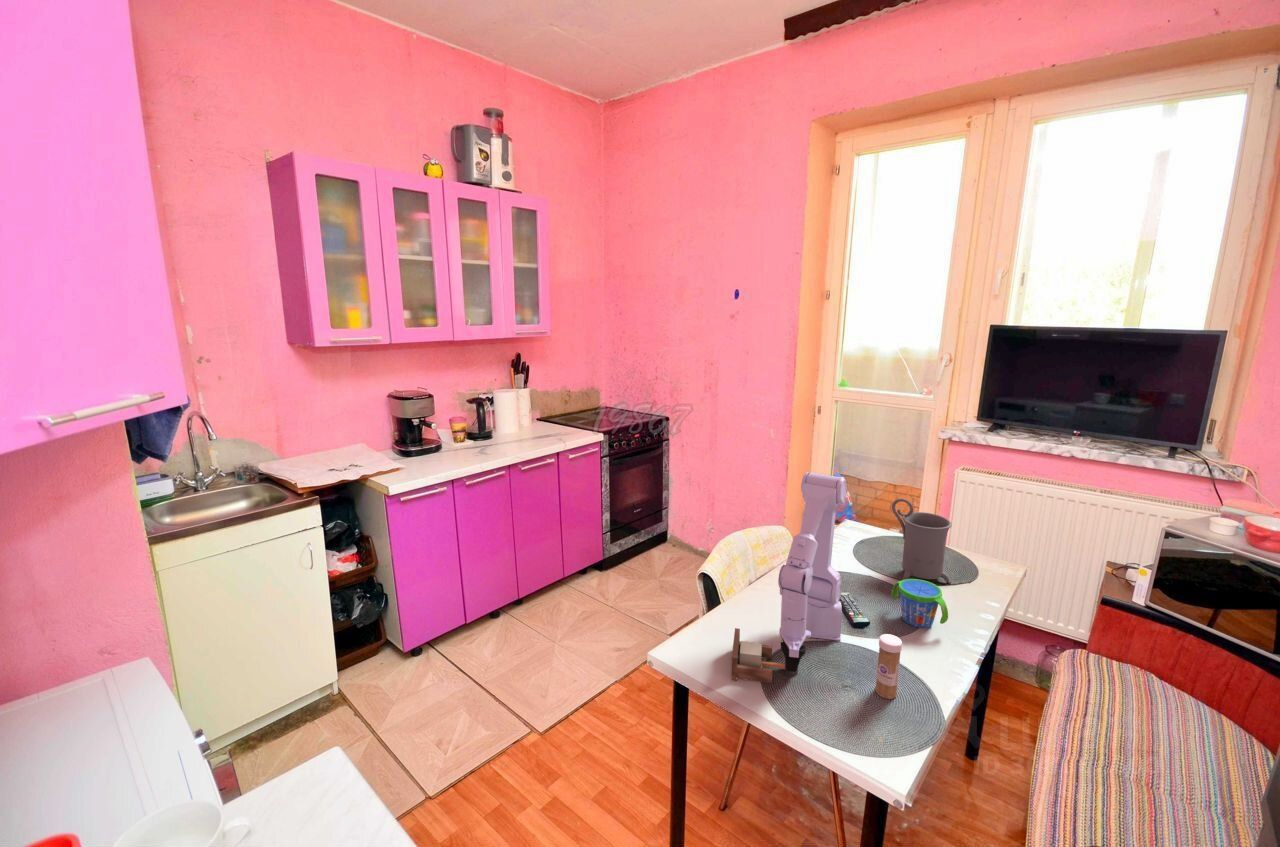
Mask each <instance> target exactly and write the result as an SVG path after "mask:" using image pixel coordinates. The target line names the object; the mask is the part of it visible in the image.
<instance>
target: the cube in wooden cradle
mask: <svg viewBox="0 0 1280 847" xmlns="http://www.w3.org/2000/svg"><path fill="white" fill-rule="evenodd" d="M733 633H734V634H733V644H732V645H733V646H732V653H731V654H732V655H731V675H730V676H731V679H730V680H731V681H735V682H736V681H737V680H743V681H749V682H750V681H751V682H758V683H764V682H765V684H772V683H773V668H771V667H769V668H768V667H764V666H761V667H755V666H748V665H740V663H739V661H740V647H741V641H742V640H741V639H740V636H741V629H740V628H736V627H735V628H734V632H733ZM772 657H773V645H772V644H765V643H762V655H761V659H762V658H763V659H770V660H772V659H773V658H772Z"/></svg>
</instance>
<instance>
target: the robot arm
mask: <svg viewBox="0 0 1280 847" xmlns="http://www.w3.org/2000/svg"><path fill="white" fill-rule="evenodd" d="M800 485H801V487H800V490H801V491H800V492H801V494H802V498H803V502H805V504H804V510H803V516H802V519H801V520H802V521H801V525H800V532H799V533H797V534H796V535H794V536H793V538H792V542H791V546H790V549H789V552H788V555H787V559H786V563H785V564H783V565H781V567H780V569H779V573H778V578H777V579H778V580H777V581H778V582H777V584H778V587H779V595H780V596H781V602H780V603H781V607H780V611H781V612H780V627H779V631H778V632H779V636H780V637H781V640H782V641H780V645H779V646H780V650H781V652H782V654H783V656H784V663H785V662H786V668H787V671H791V672H796V671H797V669H798V670H799V664H800V661H801V659H802V657H803V656H804V655H805V653H806V649H807V648H806V646H805V645H803V644H804V641H805V640H806V639H809V638H810V639H811V638H813V639H814V638H815V639H824V640H831V641H839V642H840V641H841V640H842V639H841V638H842V637H841V633H842V622H843V621H842V619H843V618H842V617H843V614H842V612H843V611H842V610H843V609H842V602H841V601H840V598H841V593H842V582H841V581H842V577H841V574H840V573H839V572H838V571H837V570H836V569H835V567H833V566H832V555H833V554H832V553H833V546H834V533H835V525H836V524H835V523H836V515H837V514H836V512H837V510H838V507H843V506H844V505H845V504H846V503H845V501H846V496H847V495H846V494H847V487H848V486H847V481H846V479H845V477H844V476H833V475H827V474H822V473H816V472H811V471H807V472H805V473H804V474H803V476H802V479H801V484H800Z"/></svg>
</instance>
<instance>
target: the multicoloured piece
mask: <svg viewBox="0 0 1280 847" xmlns="http://www.w3.org/2000/svg"><path fill="white" fill-rule="evenodd" d="M740 641H741V647H740V655H739V664H740V665H748V666H755V667H767V668H768V667H769V668H777V669H784V673H785V674H786V675H787V674H788V675H787V676H790V677H795V676H797V675H798V673H799V672H798V671H799V668H798V669H797V671H796V672H791V671H787V668H786V662H785V661H784V663H778V662H771V661H770V662H769V661H763V660H762V658H761V655H762V644H763V643H761V642H755V641H747V640H740Z"/></svg>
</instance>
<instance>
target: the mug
mask: <svg viewBox="0 0 1280 847" xmlns="http://www.w3.org/2000/svg"><path fill="white" fill-rule="evenodd" d="M900 502H901V503H902V502H903V503H905V504H907V505H908V506H909V512H906V513H903V512H902V511H901V509H899V508H898V509H897V510H896V505H897V504H898V503H900ZM891 508H892V509H891V510H892V513H893V514H894V516H895V517H896V519H897V520H898V522H899V524H900V526H901V530H902V534H903V535H902V536H903V537H902V539H903V542H904V543H903V550H902V551H903V552H902V553H903V554H902V561H901V562H902V565H901V568H902V570H903V571H904V574H903V578H902V580H906V579H910V578H911V576H913V577H915V578H918V579H919V578H920V579H923V580H924V579H926V580H935V579H939V578H942V579H943V580H944V581H945V582H946V583H947V584H950V585H951V584H952V581H950V577H949V575H948V574H947V573H946V572H945V571H944V564H945V554H946V553H945V552H946V544H947V536H948V532H949V530H950V529H951V528H952V526H953V523H952V522H951V520H949V519H948V518H946V517H944V516H941V515H938V514H936V513H935V514H934V513H929V512H925V511H914V506H913V503H912V502H911V501H910V500H908V499H906V498H896V499H895V500H893V502H892V504H891ZM901 517H902V518H901ZM903 521H904V522H903Z"/></svg>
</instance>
